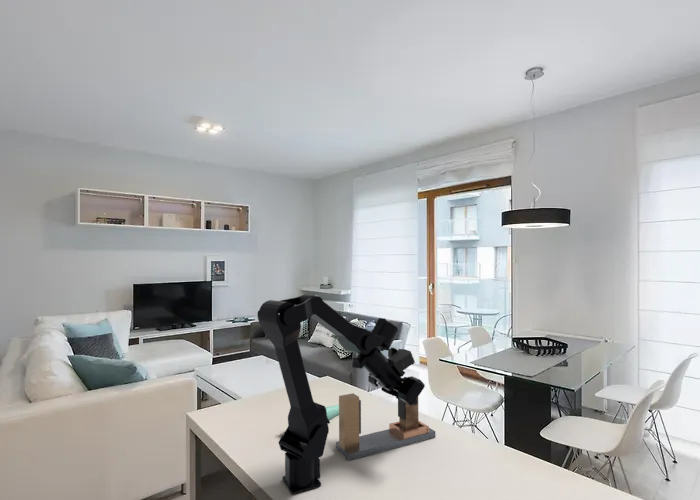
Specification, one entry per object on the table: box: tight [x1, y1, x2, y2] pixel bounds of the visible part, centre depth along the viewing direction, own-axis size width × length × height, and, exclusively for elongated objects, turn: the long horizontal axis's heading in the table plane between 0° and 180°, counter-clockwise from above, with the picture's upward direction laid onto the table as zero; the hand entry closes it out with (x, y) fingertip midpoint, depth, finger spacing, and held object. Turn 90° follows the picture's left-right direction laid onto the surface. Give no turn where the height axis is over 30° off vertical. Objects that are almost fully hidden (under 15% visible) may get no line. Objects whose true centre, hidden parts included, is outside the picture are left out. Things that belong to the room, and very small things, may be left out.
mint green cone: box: [325, 404, 339, 421], centre depth 116 cm, size 5×6×27 cm
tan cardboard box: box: [397, 396, 419, 431], centre depth 103 cm, size 5×3×12 cm, turn 118°
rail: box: [335, 392, 437, 461], centre depth 100 cm, size 26×7×14 cm, turn 118°
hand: (412, 401), depth 104 cm, fingers closed on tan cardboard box, 3 cm apart
